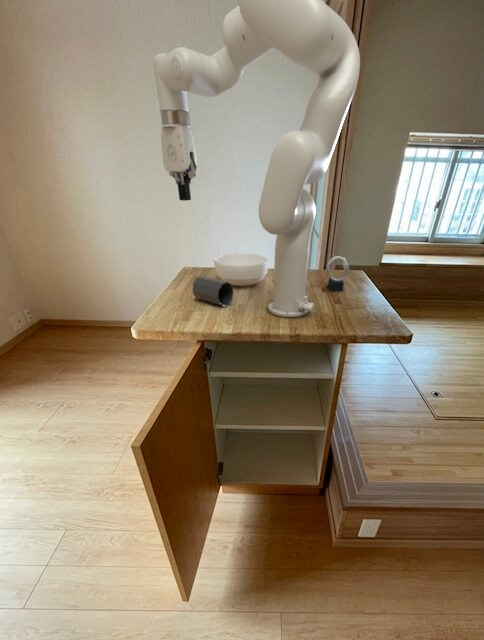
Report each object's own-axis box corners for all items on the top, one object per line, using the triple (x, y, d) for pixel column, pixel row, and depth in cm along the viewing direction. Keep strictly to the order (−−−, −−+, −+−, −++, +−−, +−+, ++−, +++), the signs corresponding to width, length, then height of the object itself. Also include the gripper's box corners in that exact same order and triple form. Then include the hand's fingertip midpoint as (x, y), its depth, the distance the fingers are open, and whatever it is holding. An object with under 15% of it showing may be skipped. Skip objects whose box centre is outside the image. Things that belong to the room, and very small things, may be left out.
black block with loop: (347, 291, 113) (353, 258, 106) (326, 291, 113) (330, 258, 106) (344, 286, 118) (349, 254, 111) (323, 286, 117) (326, 254, 111)
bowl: (244, 294, 108) (243, 269, 103) (205, 283, 118) (202, 259, 113) (277, 281, 121) (278, 258, 116) (239, 272, 130) (238, 250, 125)
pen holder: (209, 295, 107) (234, 302, 102) (193, 301, 102) (218, 309, 97) (207, 273, 103) (233, 279, 97) (190, 278, 98) (216, 285, 93)
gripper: (147, 121, 87) (160, 199, 98) (182, 118, 80) (192, 202, 91) (169, 124, 92) (179, 198, 103) (204, 121, 84) (211, 201, 95)
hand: (185, 200), depth 97 cm, fingers closed
